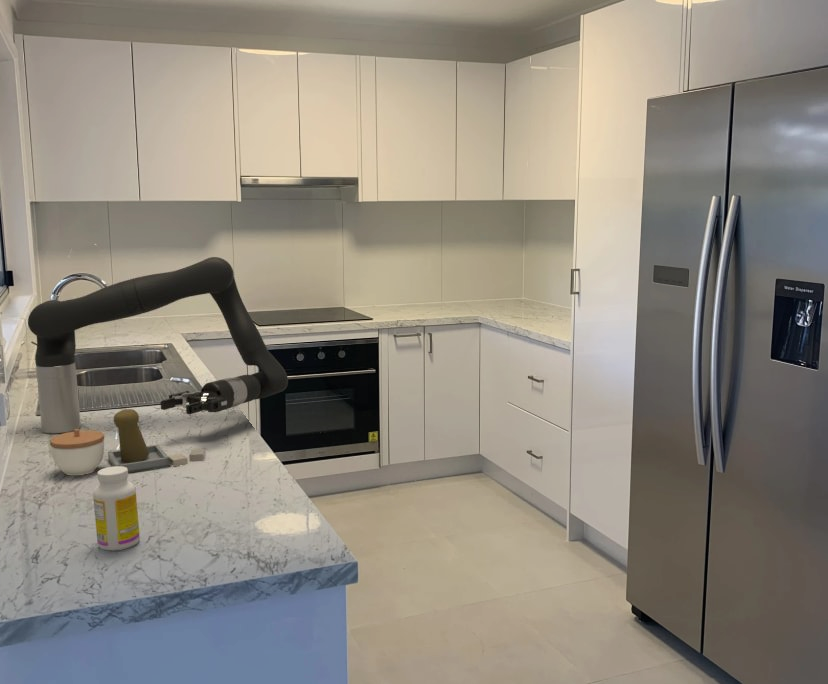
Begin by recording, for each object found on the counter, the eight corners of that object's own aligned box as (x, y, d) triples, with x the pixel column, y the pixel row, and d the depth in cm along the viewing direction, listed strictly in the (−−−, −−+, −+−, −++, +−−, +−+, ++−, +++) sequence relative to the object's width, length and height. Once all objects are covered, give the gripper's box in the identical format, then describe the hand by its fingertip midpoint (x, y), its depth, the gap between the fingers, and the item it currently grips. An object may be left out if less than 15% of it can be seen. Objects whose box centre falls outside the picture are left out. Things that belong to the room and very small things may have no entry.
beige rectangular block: (192, 457, 183) (191, 449, 183) (205, 456, 183) (205, 448, 183) (189, 462, 179) (189, 454, 179) (203, 461, 180) (203, 454, 179)
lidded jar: (49, 482, 167) (45, 438, 165) (57, 466, 177) (53, 425, 175) (104, 476, 169) (100, 433, 168) (108, 461, 180) (105, 421, 178)
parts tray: (108, 460, 181) (107, 451, 180) (158, 452, 186) (158, 444, 185) (117, 475, 170) (116, 466, 170) (170, 466, 175) (169, 457, 175)
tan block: (168, 463, 179) (167, 456, 178) (181, 461, 180) (180, 453, 180) (174, 468, 175) (173, 460, 175) (187, 465, 177) (187, 457, 177)
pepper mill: (135, 448, 183) (125, 404, 180) (154, 452, 180) (144, 407, 177) (115, 460, 178) (104, 415, 175) (134, 464, 175) (124, 418, 172)
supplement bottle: (144, 535, 138) (139, 463, 136) (132, 551, 131) (127, 476, 129) (105, 536, 138) (99, 464, 136) (91, 552, 131) (85, 477, 129)
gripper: (203, 376, 204) (152, 388, 190) (245, 382, 196) (195, 395, 183) (204, 405, 205) (154, 419, 191) (246, 412, 197) (196, 427, 184)
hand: (174, 407), depth 187 cm, fingers open, 8 cm apart
